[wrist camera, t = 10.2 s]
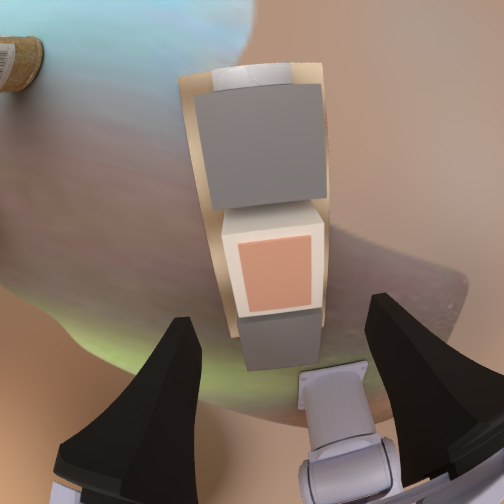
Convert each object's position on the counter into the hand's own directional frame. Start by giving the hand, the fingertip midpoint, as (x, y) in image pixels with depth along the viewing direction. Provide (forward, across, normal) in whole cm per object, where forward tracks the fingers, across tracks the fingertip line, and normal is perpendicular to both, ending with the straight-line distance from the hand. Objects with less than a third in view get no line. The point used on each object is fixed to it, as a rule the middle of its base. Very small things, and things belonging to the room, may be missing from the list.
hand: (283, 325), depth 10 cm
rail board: (+9, 0, 0) cm, 9 cm away
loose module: (+8, 0, 0) cm, 8 cm away
